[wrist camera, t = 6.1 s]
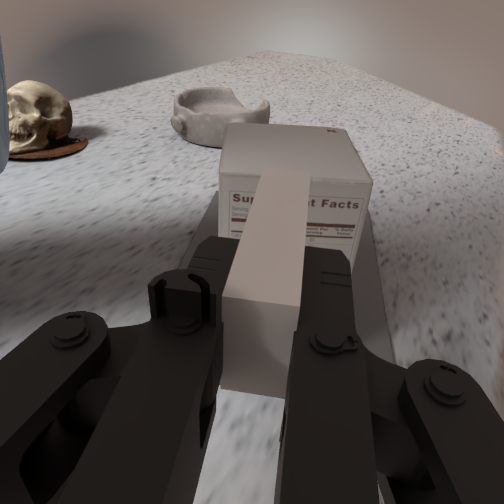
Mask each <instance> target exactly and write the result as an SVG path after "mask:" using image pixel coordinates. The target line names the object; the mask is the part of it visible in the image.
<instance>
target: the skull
mask: <svg viewBox="0 0 504 504" xmlns="http://www.w3.org/2000/svg"><path fill="white" fill-rule="evenodd" d="M7 100H8V114H9V131H10V148H9V158H22V159H25V158H29V159H30V158H33V159H34V158H35V159H36V158H44V159H46V158H47V157H48V159H51V158H50V157H55V156H57V157H59V156H60V155H61V157H63V156H62V155H65V154H68V155H69V153H73V152H76V151H78V150H81V149H83V148H85V146H86V145H87V144H88V140H87V138H85V140H84V141H82V142H81V141H80V140H79V141H80V142H76V143H75V142H73V141H76V140H78V139H76V138H75V139H72V138H69V137H68V134H69V133H70V130H71V127H72V110H71V107H70V104H69V102H68V100H67V99H66V98H65V97H63V96H62V95H61V94H60V93H59V92H58V91H56V90H55V89H53V88H52V87H50V86H48V85H46V84H43V83H39V82H36V81H30V80H26V81H23V82H20V83H18V84H16V85H14V86H13V87H11V88H10V89H9V90H8V91H7ZM57 157H56V158H57ZM39 160H40V159H39Z"/></svg>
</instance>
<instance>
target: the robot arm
mask: <svg viewBox="0 0 504 504" xmlns="http://www.w3.org/2000/svg"><path fill="white" fill-rule="evenodd" d="M9 148H10V131H9V114H8V100H7V89H6V79H5V70H4V61H3V54H2V44H1V37H0V174H1V173H2V172H3V170H4V169H5V167H6V164H7V162H8V158H9ZM310 175H311V172H310V171H301V170H291V169H281V168H272V167H264V168H263V171H262V174H261V177H260V180H259V183H258V187H257V190H256V193H255V196H254V199H253V202H252V205H251V208H250V211H249V214H248V217H247V220H246V223H245V226H244V230H243V233H242V236H241V239H234V238H226V237H218V236H209V237H208V238H206V239H205V240H204V241H202V242H201V243H200V244H198V246H197V248H196V250H195V252H194V254H193V256H192V259H191V261H190V263H189V265H188V269H176V270H172V271H168V272H164V273H162V274H161V275H159V276H157V277H155V278H154V279H153V280H152V281H151V282H150V283H149V284H148V294H149V303H150V312H151V319H150V321H148V322H146V323H143V324H139V325H133V326H125V327H115V328H108V326H107V324H106V323H105V321H104V319H103V318H102V317H100V316H98V315H97V314H95V313H91V312H86V311H76V312H68V313H65V314H62V315H59V316H56V317H54V318H52V319H51V320H49V321H48V322H46V323H44V324H43V325H42V326H41V327H39V328H38V329H37V330H36V331H35V332H33V333H32V334H31V335H30V336H29V337H27V338H26V339H25V340H24V341H23V342H21V343H20V344H19V345H18V346H17V347H15V348H14V349H13V350H12V351H11V352H9V353H8V354H7V355H6V356H5V357H3V358H2V359H1V360H0V504H193V501H194V497H195V493H196V489H197V485H198V481H199V477H200V473H201V469H202V465H203V461H204V457H205V453H206V449H207V445H208V441H209V437H210V433H211V429H212V425H213V421H214V417H215V413H216V394H217V390H218V387H219V383H220V379H221V389H226V390H233V391H239V392H245V393H252V394H258V395H265V396H271V397H278V398H284V399H285V406H284V413H283V420H282V426H281V433H280V440H279V442H280V448H279V458H278V468H277V478H276V488H275V497H274V504H379V493H378V484H379V487H380V490H381V493H382V496H383V499H384V502H385V504H504V422H503V420H502V419H501V417H500V416H499V414H498V412H497V411H496V409H495V408H494V406H493V405H492V403H491V402H490V400H489V399H488V397H487V396H486V394H485V393H484V391H483V390H482V388H481V387H480V385H479V384H478V383H477V382H476V381H475V380H474V379H473V378H472V377H471V375H469V374H468V373H466V372H465V371H463V370H462V369H460V368H459V367H457V366H455V365H452V364H450V363H447V362H445V361H442V360H433V359H425V360H421V361H416V362H415V363H414V364H412V365H411V366H410V367H409V368H408V369H405V368H403V367H400V366H398V365H395V364H393V363H390V362H388V361H386V360H384V359H382V358H380V357H378V356H376V355H375V354H373V353H372V352H371V351H369V350H368V349H367V348H366V347H365V346H364V345H363V343H362V340H361V338H360V336H359V335H358V334H357V332H356V326H355V314H354V302H353V290H352V278H351V266H350V261H349V260H348V259H347V257H346V256H345V255H344V253H343V252H342V250H336V249H328V248H319V247H311V246H305V238H306V225H307V213H308V200H309V187H310ZM377 481H378V483H377Z"/></svg>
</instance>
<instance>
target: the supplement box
mask: <svg viewBox="0 0 504 504" xmlns="http://www.w3.org/2000/svg"><path fill="white" fill-rule="evenodd" d="M264 167H272V168H281V169H291V170H301V171H310V172H311V175H310V187H309V200H308V213H307V225H306V238H305V246H311V247H319V248H328V249H336V250H342V252H343V253H344V255H345V256H346V257H347V259H348V260H349V261H350V266H351V274H352V270H353V266H354V262H355V258H356V254H357V250H358V246H359V242H360V238H361V234H362V230H363V226H364V221H365V217H366V213H367V209H368V204H369V200H370V195H371V190H372V186H373V180H372V178H371V176H370V174H369V173H368V171H367V169H366V167H365V165H364V164H363V162H362V160H361V158H360V156H359V154H358V152H357V150H356V149H355V147H354V145H353V143H352V142H351V140H350V138H349V136H348V134H347V131H346V130H344V129H338V128H330V127H316V126H297V125H276V124H257V123H237V122H230V123H227V125H226V128H225V133H224V139H223V144H222V151H221V158H220V165H219V217H218V237H226V238H234V239H241V236H242V233H243V230H244V226H245V223H246V220H247V217H248V214H249V211H250V208H251V205H252V202H253V199H254V196H255V193H256V190H257V187H258V183H259V180H260V177H261V174H262V171H263V168H264Z"/></svg>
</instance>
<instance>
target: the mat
mask: <svg viewBox="0 0 504 504" xmlns="http://www.w3.org/2000/svg"><path fill="white" fill-rule="evenodd" d="M218 217H219V191H216V193H215V195H214V197H213V199H212V201H211V203H210V205H209V207H208V209H207V211H206V213H205V215H204V217H203V219H202V221H201V223H200V225H199V227H198V229H197V231H196V233H195V235H194V237H193V239H192V241H191V243H190V245H189V247H188V249H187V251H186V253H185V255H184V257H183V259H182V261H181V264H180V266H179V268H178V269H188V265H189V263H190V261H191V259H192V256H193V254H194V252H195V250H196V248H197V246H198V244H200V243H201V242H202V241H204V240H205V239H206V238H208V237H209V236H218ZM351 278H352V290H353V302H354V314H355V326H356V332H357V334H358V335H359V336H360V338H361V340H362V343H363V345H364V346H365V347H366V348H367V349H368V350H369V351H371V352H372V353H373V354H375V355H376V356H378V357H380V358H382V359H384V360H386V361H388V362H390V363H393V364H394V362H393V356H392V350H391V344H390V338H389V332H388V326H387V320H386V314H385V308H384V302H383V296H382V290H381V284H380V278H379V272H378V266H377V260H376V254H375V248H374V242H373V236H372V230H371V224H370V218H369V212H368V209H367V213H366V217H365V221H364V226H363V230H362V234H361V238H360V242H359V246H358V250H357V254H356V258H355V262H354V266H353V270H352V274H351ZM219 384H221V379H220V383H219Z"/></svg>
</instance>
